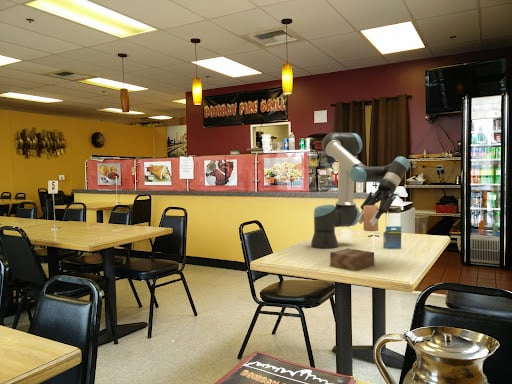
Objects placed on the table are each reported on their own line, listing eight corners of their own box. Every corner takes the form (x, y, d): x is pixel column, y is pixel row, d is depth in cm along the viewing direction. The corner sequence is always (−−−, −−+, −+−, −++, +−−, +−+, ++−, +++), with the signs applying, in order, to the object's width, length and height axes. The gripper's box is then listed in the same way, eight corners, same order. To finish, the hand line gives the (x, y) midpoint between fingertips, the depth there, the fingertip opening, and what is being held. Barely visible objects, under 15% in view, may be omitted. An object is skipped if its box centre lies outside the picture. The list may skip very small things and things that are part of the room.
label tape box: (398, 247, 232) (398, 225, 232) (401, 248, 228) (401, 226, 228) (383, 247, 232) (383, 225, 232) (385, 248, 228) (385, 226, 228)
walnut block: (330, 265, 189) (330, 252, 188) (348, 260, 198) (348, 248, 198) (356, 270, 179) (356, 257, 178) (374, 265, 188) (374, 252, 188)
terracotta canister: (360, 230, 187) (360, 206, 186) (368, 228, 191) (368, 204, 190) (373, 231, 182) (373, 206, 181) (380, 229, 186) (380, 205, 186)
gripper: (410, 190, 186) (387, 230, 178) (376, 189, 202) (353, 225, 194) (403, 179, 183) (378, 219, 175) (368, 178, 199) (345, 215, 191)
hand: (365, 222), depth 184 cm, fingers closed on terracotta canister, 6 cm apart
